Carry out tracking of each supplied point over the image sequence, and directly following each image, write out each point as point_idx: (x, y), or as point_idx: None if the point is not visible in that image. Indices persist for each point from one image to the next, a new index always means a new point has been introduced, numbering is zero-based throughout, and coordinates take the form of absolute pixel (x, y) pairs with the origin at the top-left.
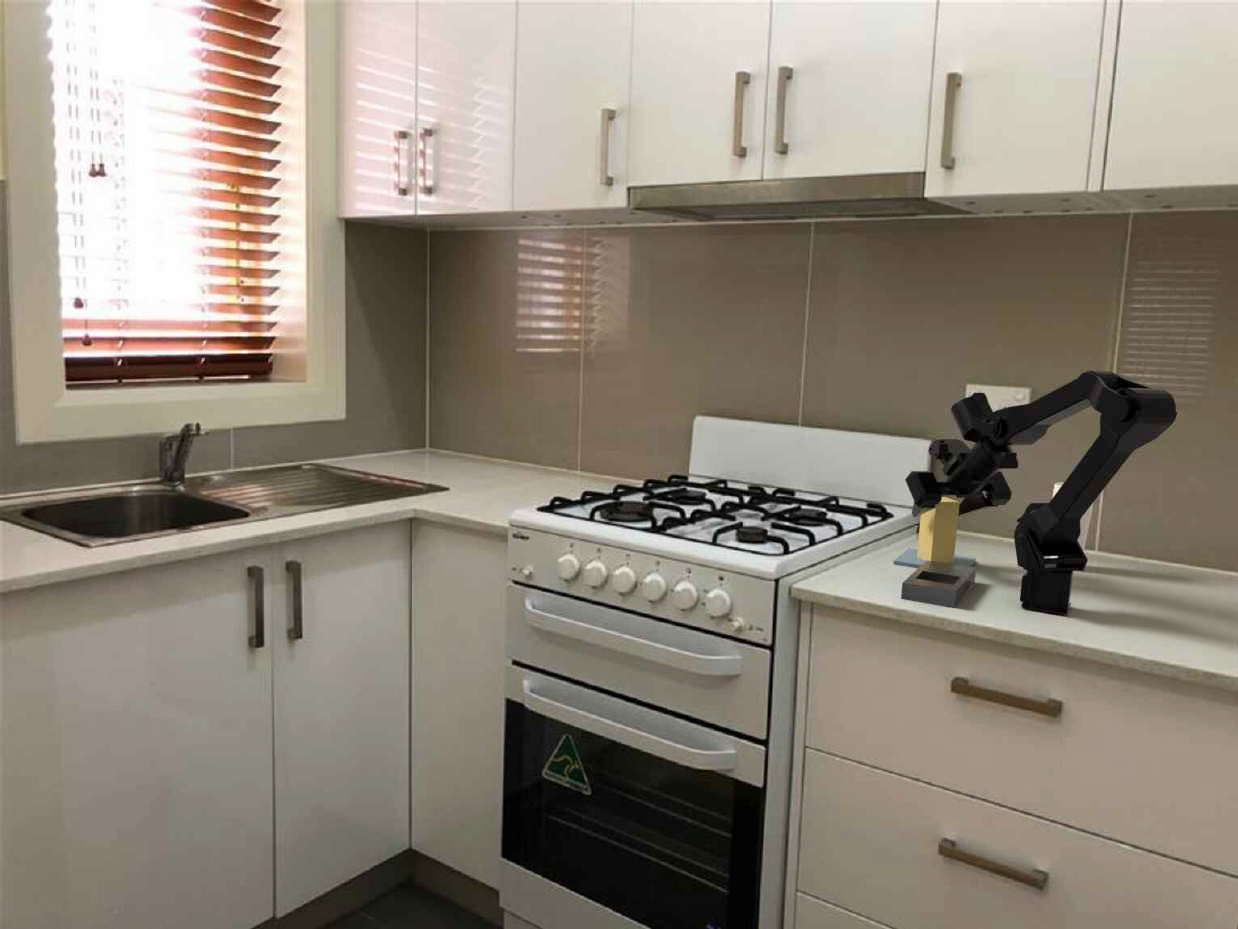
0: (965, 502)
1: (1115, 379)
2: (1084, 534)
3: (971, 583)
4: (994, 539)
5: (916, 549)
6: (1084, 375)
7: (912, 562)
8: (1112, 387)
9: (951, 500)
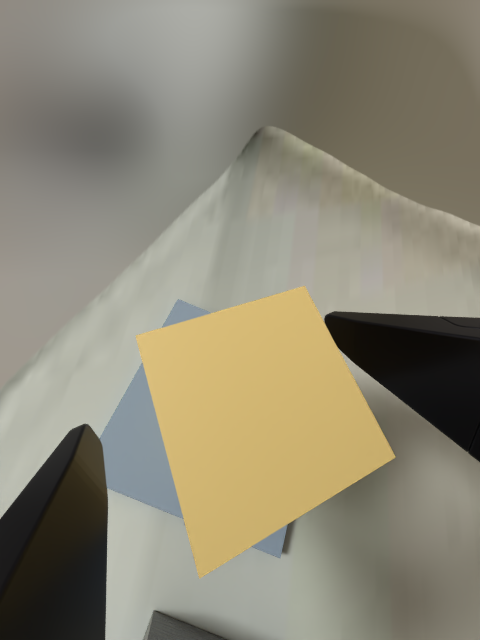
0: (409, 352)
1: None
2: None
3: None
4: (360, 181)
5: (194, 306)
6: None
7: (138, 480)
8: None
9: (339, 407)
